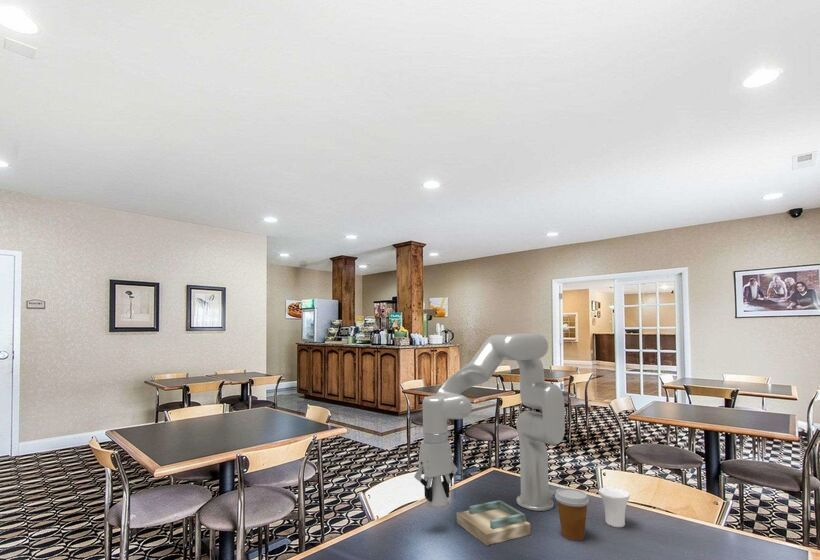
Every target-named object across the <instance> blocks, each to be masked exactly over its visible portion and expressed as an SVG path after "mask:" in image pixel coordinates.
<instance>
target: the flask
mask: <svg viewBox="0 0 820 560" xmlns="http://www.w3.org/2000/svg"><path fill="white" fill-rule="evenodd" d="M442 481H443V480H442V476H438V477H433V478H432V481H431V485H430V487H431V488H432V501H431V502H430V501H428V500H427V499H426V500H425V501H426V502H425V504H426V506H427V508H430V509H431V508H432V509H435V510H436V509H445V508H447V507H448V506H450V502H449V499H448V498H447V497H446V494H445V491H444V488H443V485H442Z"/></svg>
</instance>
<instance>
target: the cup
mask: <svg viewBox="0 0 820 560" xmlns="http://www.w3.org/2000/svg"><path fill="white" fill-rule="evenodd" d="M597 493H598V494H599V496H600V497H601V499H602V503H603V506H604V512H605V513H604V516H605V523H606V524H607V525H608V526H610V525H611V526H610V527H613V528H614V527H615V528H623V527H625V526H626V517H625V516H626V515H625V514H626V509H627V504H628V502H629V499H630V497H631V494H630V493H629V492H628V491H626V490H625V489H621V488H617V487H612V486H605V487H604V486H603V487H601V488H599V490H598V492H597Z"/></svg>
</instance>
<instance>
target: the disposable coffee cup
mask: <svg viewBox="0 0 820 560" xmlns="http://www.w3.org/2000/svg"><path fill="white" fill-rule="evenodd" d="M556 490H557V492H556V494H555V496H554V497H555V498H554V499H555V500H556V503H557V510H558V511H557V512H558V515H559V522H560V523H559V524H560V528H561V536H563V538H565V539H567V540H570V541H582V540H584V539H585V537H586V536H585V534H586V525H587V523H586V521H587V510H588V509H587V508H588V504H589V502H590V499H589V497H588V494H587V493H586V492H584V491H582V490H579V489H576V488H569V487H564V488H563V487H562V488H559V489H556Z"/></svg>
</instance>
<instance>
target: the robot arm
mask: <svg viewBox="0 0 820 560" xmlns="http://www.w3.org/2000/svg"><path fill="white" fill-rule="evenodd" d="M548 351H549V342H548V340H547V338H546V337H545V336H543V335H542V334H540V333H518V332H517V333H510V334H493V335H490V336H489V337H488V338H486V339H485V341H484V342H483V344H482V345H481V346H480V348H479V349H478V350H477V352H476V353H475V355H473V357H472V358H471V360H470V361H469V363H467V365H465V366H463V367H462V368H460V369H459V370H457V371H456V372H455V373H453V374H452V375H450V376H449V377H448V378H447V379H446V380H445V381H444V383H442V385H441V386H440V388H439V389H438V391H437V392H436V393H435V395H429V396H425V397H424V398H423V399H422V434H423V435H422V436H423V440H422V441H421V442H420V446H419V447H420V448H419V453H418V469H417V471H416V472H415V475H414V478H415V480H417V481H418V482H419V483H421V485H422V486H424V487H423V488H424V498H425V499H426V501H427V500H428V501H430V502H431V501H432V488H431V484H432V478H433V477H438V476H441V478H442V480H441V481H442V485H443V488H444V491H445V494H446V497H447V499H448V498H450V484H451V483H452V479H453V478H454V476H455V475H456V473H457V472H458V470H459V469H458V467H457V466H456V465H455V464H454V462H453V451H452V447H451V443H450V439H449V436H451V435H452V434H451V431H450V430H448V420H462V419H465V418H468V416H470V414H471V412H472V409H473V405H472V402H471V400H470V399H469V398H468V397H467V396H465V395H463V394H462V393H464V391H466V390H469V388H472V387H474V386H478V385H482V384H484V383H485V382H486V383H487V382H488V381H489V380H490V379H491V377H492V376H493V375H494V374H495V372H496V371H497V369H498V368H499V366H500V365H501V363H502V362H503V361H516V363H517V364H518V368H519V395H520V401H521V403H522V404H523V405H524V406H526V407H529V408H530V409H531V408H532V409H536V410H541V412H539V411H535V410H525V411H522V412H521V413H520V414H519V415H518V416H517V418H516V424H515V425H516V431H517V432H516V433H517V436H518V437H517V438H518V441H519V442H518V443H519V462H520V463H519V466H520V467H519V469H520V470H519V471H520V472H519V473H520V475H519V476H520V495H518V496H517V497H516V504H518V505H519V507H521V508H524V509H525V510H526V509H527V510H531V511H539V512H541V511H545V512H546V511H550V510H552V509H553V508H554V506H555V503H554V501H553V499H552V498H553V497H555V494H556V492H557V490H558V489H552V490H551V488H549V486H550V485H549V464H548V463H549V460H548V457H549V456H548V453H549V452H548V449H547V446H546V444H547V445H551V446H555V445H559V444H561V442H562V441H563V440H564V436H565V430H566V420H565V418H566V417H565V412H566V411H565V410H566V409H565V398H564V394H563V391H562V389H561V388H560V387H559V386H558V385H556V384H554V383H551V382H546V381H545V373H544V369H545V368H544V364H543V362H542V360H541V358H543V357H544V356H546V355H547V353H548ZM422 475H423V477H422Z"/></svg>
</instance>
